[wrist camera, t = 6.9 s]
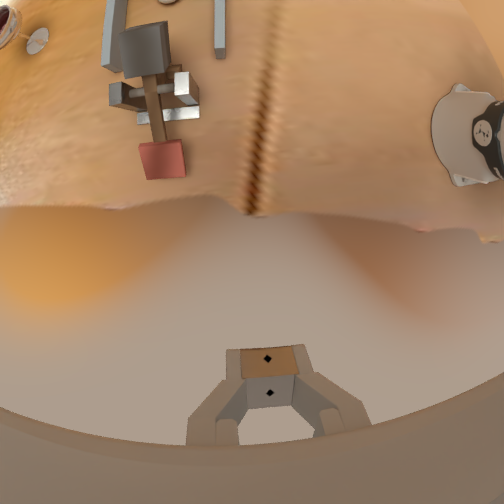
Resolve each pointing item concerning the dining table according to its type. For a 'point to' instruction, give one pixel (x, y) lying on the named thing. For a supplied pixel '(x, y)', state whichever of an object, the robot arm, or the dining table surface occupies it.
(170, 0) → the ball
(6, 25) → the wineglass
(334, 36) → the dining table surface
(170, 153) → the lever
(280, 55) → the dining table surface
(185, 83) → the stand
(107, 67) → the grey u-shaped bracket
